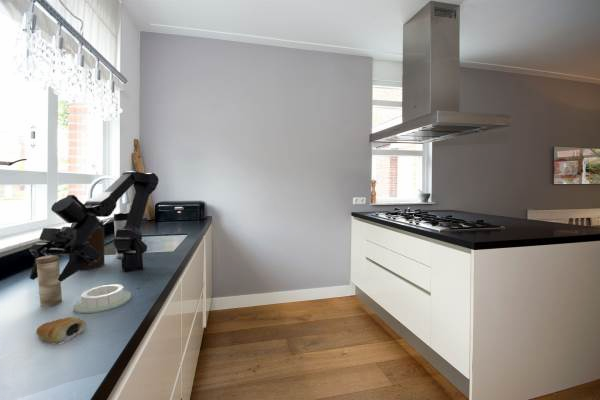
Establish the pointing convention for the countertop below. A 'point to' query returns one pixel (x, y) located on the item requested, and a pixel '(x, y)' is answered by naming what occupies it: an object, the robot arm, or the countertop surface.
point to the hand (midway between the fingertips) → (45, 279)
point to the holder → (102, 299)
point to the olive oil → (96, 247)
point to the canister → (49, 280)
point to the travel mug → (120, 225)
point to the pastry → (61, 330)
